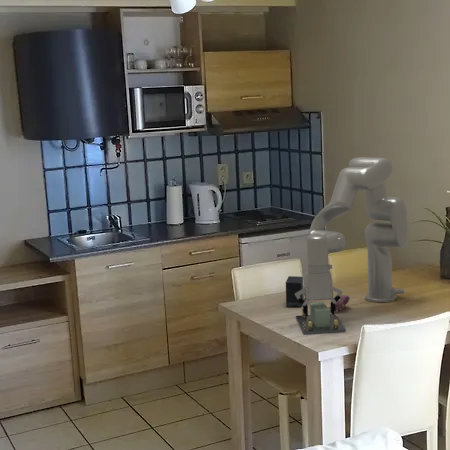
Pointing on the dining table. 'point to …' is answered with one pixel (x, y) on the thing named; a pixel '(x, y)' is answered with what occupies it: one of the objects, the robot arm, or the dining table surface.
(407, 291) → the dining table surface
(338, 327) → the standoff plate
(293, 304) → the small box
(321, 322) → the green board block
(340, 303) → the video game controller
